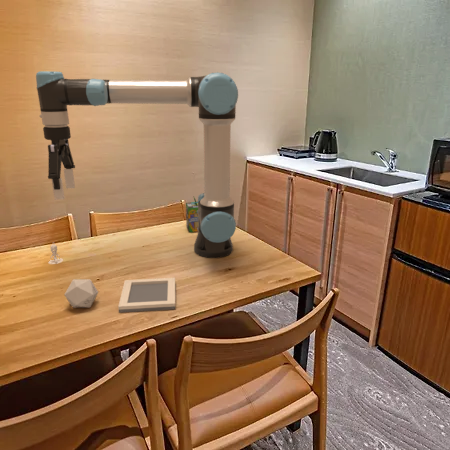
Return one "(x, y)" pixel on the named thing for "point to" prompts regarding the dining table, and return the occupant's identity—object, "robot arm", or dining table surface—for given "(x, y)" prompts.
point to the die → (81, 293)
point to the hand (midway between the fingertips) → (65, 193)
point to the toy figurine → (55, 261)
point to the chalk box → (192, 216)
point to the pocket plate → (147, 295)
